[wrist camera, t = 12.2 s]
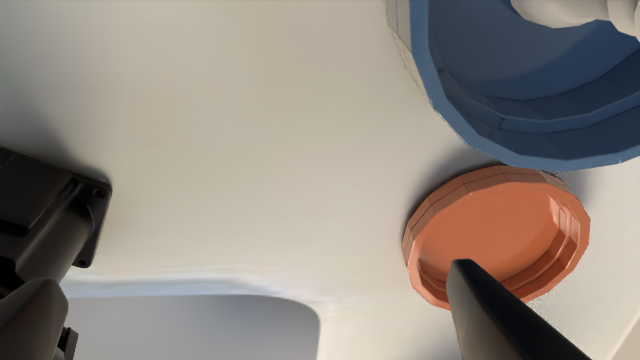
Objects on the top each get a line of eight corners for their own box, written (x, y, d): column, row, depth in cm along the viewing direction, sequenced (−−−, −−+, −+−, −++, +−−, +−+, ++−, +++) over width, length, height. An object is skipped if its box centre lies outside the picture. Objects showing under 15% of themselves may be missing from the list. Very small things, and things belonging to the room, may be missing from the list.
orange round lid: (493, 305, 29) (505, 329, 27) (370, 262, 26) (375, 286, 24) (607, 200, 24) (630, 222, 22) (470, 133, 21) (485, 152, 19)
